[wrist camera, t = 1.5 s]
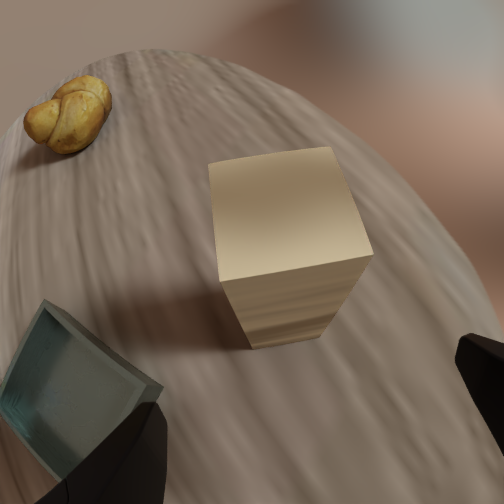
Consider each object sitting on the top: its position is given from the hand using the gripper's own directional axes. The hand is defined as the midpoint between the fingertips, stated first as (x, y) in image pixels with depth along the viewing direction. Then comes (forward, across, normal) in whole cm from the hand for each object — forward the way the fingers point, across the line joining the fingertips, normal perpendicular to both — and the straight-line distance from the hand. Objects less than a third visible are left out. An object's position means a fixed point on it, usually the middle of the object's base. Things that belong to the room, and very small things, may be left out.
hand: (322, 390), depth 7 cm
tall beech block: (+12, 0, +4) cm, 13 cm away
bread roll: (+32, +20, -14) cm, 40 cm away
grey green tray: (+9, +16, +8) cm, 20 cm away
